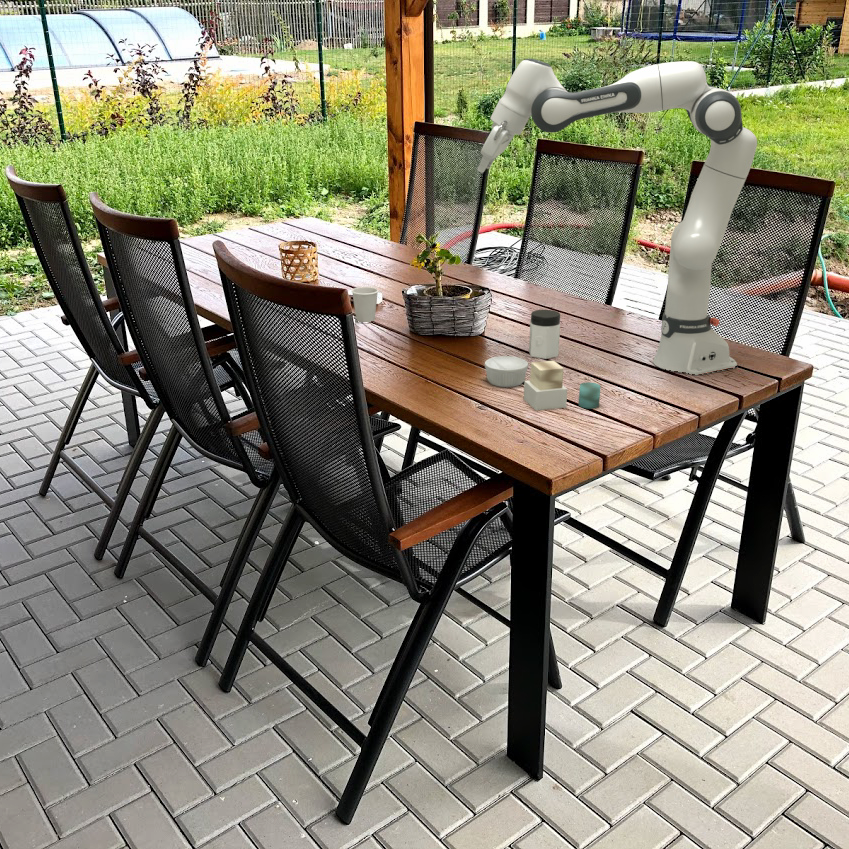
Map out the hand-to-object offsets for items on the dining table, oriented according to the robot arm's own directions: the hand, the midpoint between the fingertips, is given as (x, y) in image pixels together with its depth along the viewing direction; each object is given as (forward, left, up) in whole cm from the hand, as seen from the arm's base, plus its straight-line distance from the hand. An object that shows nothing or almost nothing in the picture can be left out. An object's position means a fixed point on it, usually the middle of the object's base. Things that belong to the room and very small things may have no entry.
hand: (483, 169), depth 242 cm
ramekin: (0, +23, -51) cm, 56 cm away
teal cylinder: (-14, +44, -51) cm, 69 cm away
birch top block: (-4, +40, -46) cm, 61 cm away
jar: (-18, +5, -51) cm, 55 cm away
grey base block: (-4, +40, -51) cm, 65 cm away
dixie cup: (+24, -40, -51) cm, 69 cm away
